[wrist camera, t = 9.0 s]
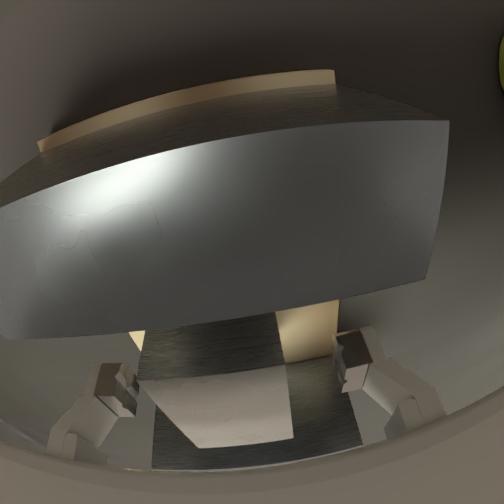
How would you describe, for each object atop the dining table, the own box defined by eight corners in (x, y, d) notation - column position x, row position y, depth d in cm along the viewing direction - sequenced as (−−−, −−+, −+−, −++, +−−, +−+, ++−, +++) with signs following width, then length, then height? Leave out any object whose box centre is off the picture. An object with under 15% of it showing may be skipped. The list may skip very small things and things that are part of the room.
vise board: (325, 69, 9) (334, 70, 9) (328, 367, 20) (331, 379, 19) (49, 134, 10) (37, 141, 9) (178, 389, 20) (177, 401, 19)
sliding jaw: (336, 355, 17) (363, 444, 12) (330, 397, 20) (348, 468, 16) (158, 380, 17) (151, 469, 12) (188, 418, 21) (187, 488, 16)
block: (260, 235, 12) (285, 364, 7) (274, 332, 16) (293, 438, 11) (162, 252, 12) (136, 380, 7) (200, 342, 16) (198, 448, 11)
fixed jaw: (335, 83, 9) (449, 121, 4) (341, 175, 11) (425, 279, 6) (41, 153, 9) (-61, 239, 4) (71, 229, 11) (5, 339, 6)
